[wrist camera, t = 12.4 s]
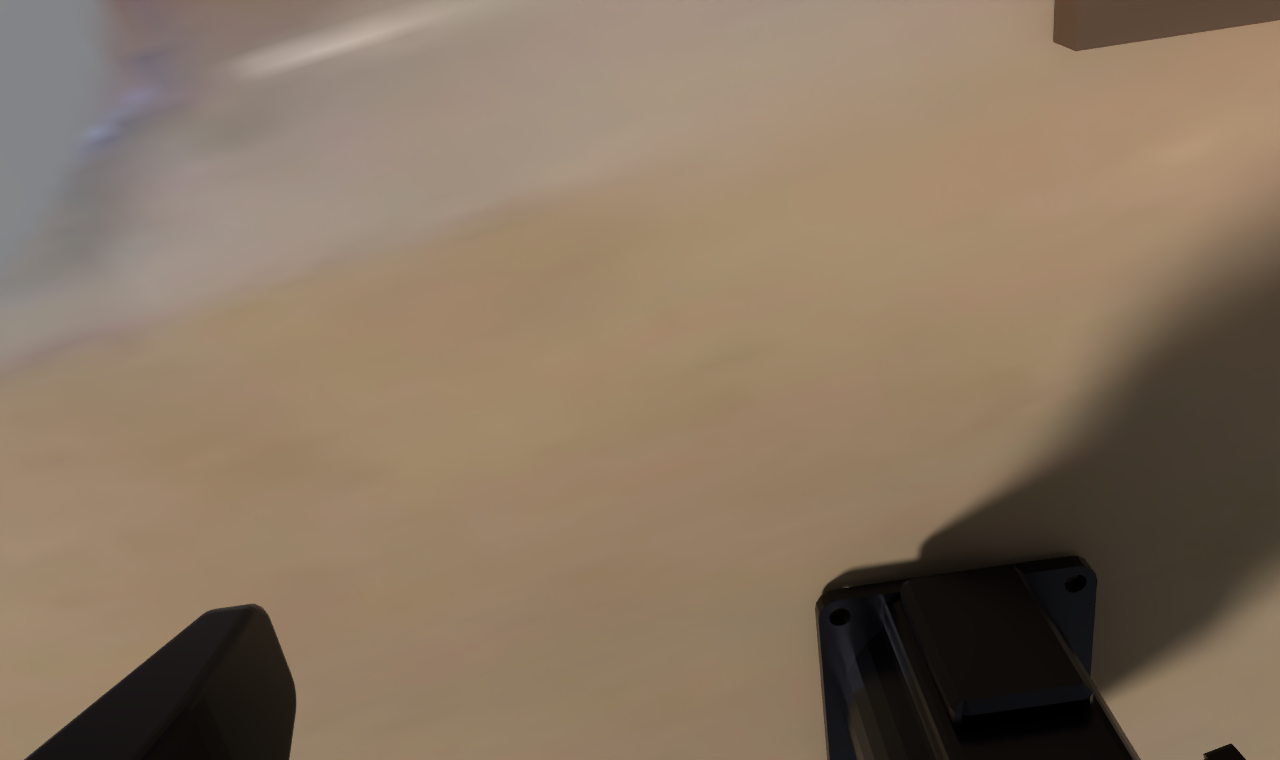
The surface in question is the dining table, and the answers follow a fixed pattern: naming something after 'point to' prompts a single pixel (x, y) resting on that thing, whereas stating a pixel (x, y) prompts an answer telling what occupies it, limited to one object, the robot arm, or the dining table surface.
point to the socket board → (1151, 19)
